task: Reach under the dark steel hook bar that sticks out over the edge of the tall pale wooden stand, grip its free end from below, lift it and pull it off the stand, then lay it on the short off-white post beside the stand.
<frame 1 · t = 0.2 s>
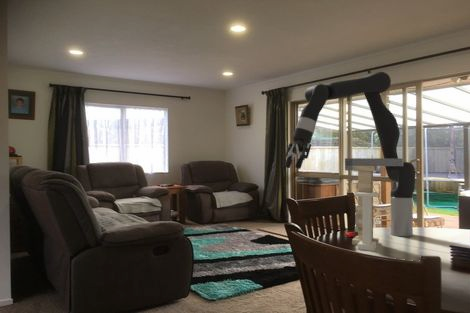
hand: (292, 167, 150), 31 cm above the table, tool tilted 20°, fingers open, 8 cm apart
rest post: (367, 248, 144), on the table
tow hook: (355, 236, 168), on the table
hook bar: (373, 165, 151), point 32 cm above the table, touching tall stand
tall stand: (365, 243, 152), on the table
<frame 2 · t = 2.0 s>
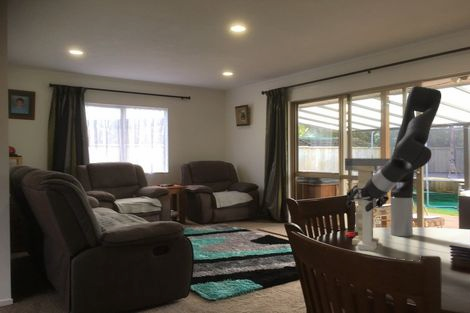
hand: (356, 207, 141), 16 cm above the table, tool tilted 50°, fingers open, 7 cm apart
nothing on the table moved.
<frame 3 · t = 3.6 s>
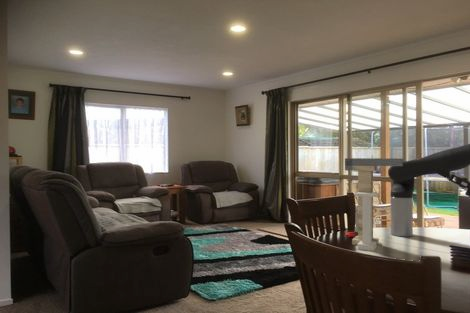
hand: (438, 170, 139), 31 cm above the table, tool pointing upward, fingers open, 8 cm apart
nothing on the table moved.
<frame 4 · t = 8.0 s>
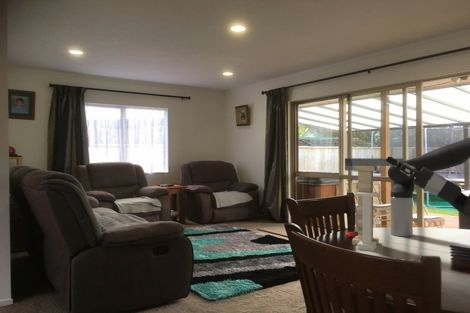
hand: (387, 158, 148), 35 cm above the table, tool pointing upward, fingers closed on hook bar, 3 cm apart
hook bar: (373, 165, 151), point 32 cm above the table, touching gripper, tall stand
everything else where it was.
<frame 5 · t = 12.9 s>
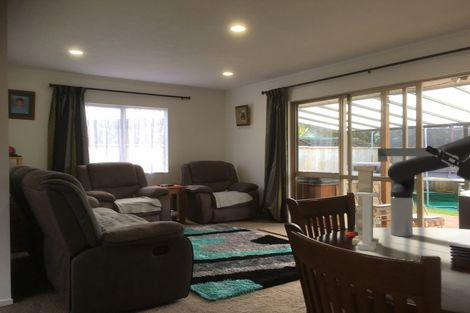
hand: (426, 147, 134), 39 cm above the table, tool pointing upward, fingers closed on hook bar, 3 cm apart
hook bar: (410, 156, 137), point 36 cm above the table, touching gripper
everything else where it was.
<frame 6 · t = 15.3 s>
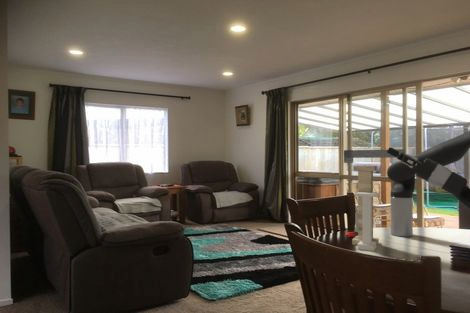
hand: (389, 149, 140), 38 cm above the table, tool pointing upward, fingers closed on hook bar, 3 cm apart
hook bar: (373, 157, 143), point 35 cm above the table, touching gripper
everything else where it was.
when the fingers open (26 cm above the table, at t = 17.7 s): hook bar drops 2 cm, resting on rest post.
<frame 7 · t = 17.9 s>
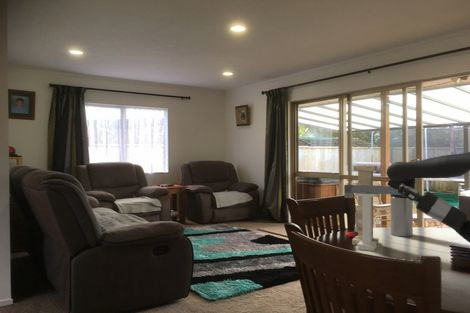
hand: (389, 181, 140), 26 cm above the table, tool pointing upward, fingers open, 5 cm apart
hook bar: (374, 193, 143), point 22 cm above the table, touching rest post
everything else where it was.
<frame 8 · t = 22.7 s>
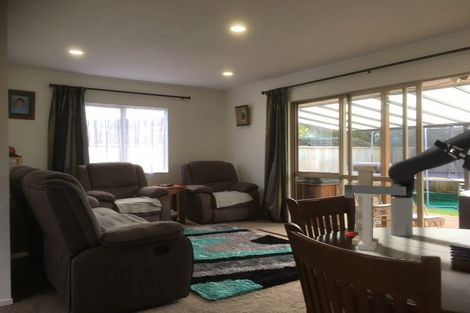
hand: (435, 142, 136), 41 cm above the table, tool pointing upward, fingers open, 8 cm apart
nothing on the table moved.
at the end: hook bar 0.1 cm from the target spot on the rest post, point 21.5 cm above the rest post's base; hook bar tilted 0°; the gripper is holding nothing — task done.
